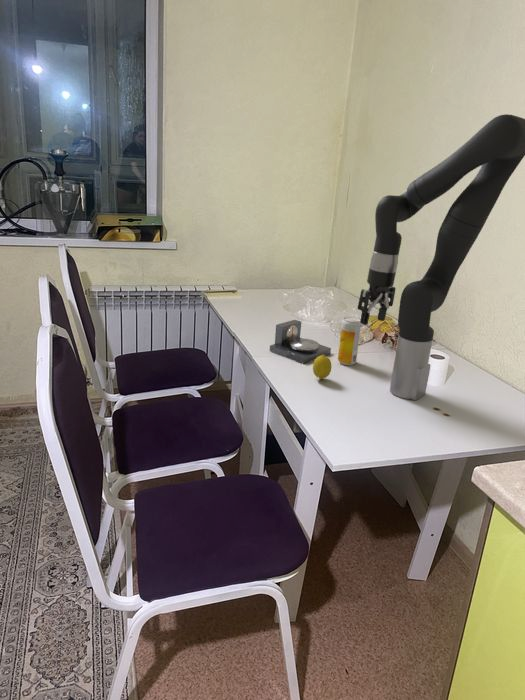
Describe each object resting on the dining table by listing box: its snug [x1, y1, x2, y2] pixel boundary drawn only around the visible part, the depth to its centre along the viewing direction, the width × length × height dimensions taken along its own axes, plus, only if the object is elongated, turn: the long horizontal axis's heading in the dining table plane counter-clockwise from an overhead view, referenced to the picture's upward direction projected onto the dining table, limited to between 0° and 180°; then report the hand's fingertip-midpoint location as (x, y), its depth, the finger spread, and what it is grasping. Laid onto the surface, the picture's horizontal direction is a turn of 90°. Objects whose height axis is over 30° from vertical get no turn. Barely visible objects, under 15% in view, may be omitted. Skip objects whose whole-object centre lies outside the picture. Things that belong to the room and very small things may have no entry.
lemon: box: [312, 355, 332, 380], centre depth 148 cm, size 6×6×8 cm
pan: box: [290, 337, 320, 351], centre depth 169 cm, size 10×10×1 cm
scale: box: [269, 319, 332, 364], centre depth 169 cm, size 15×15×9 cm
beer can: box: [337, 316, 362, 366], centre depth 161 cm, size 6×6×15 cm
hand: (372, 322), depth 146 cm, fingers open, 8 cm apart
